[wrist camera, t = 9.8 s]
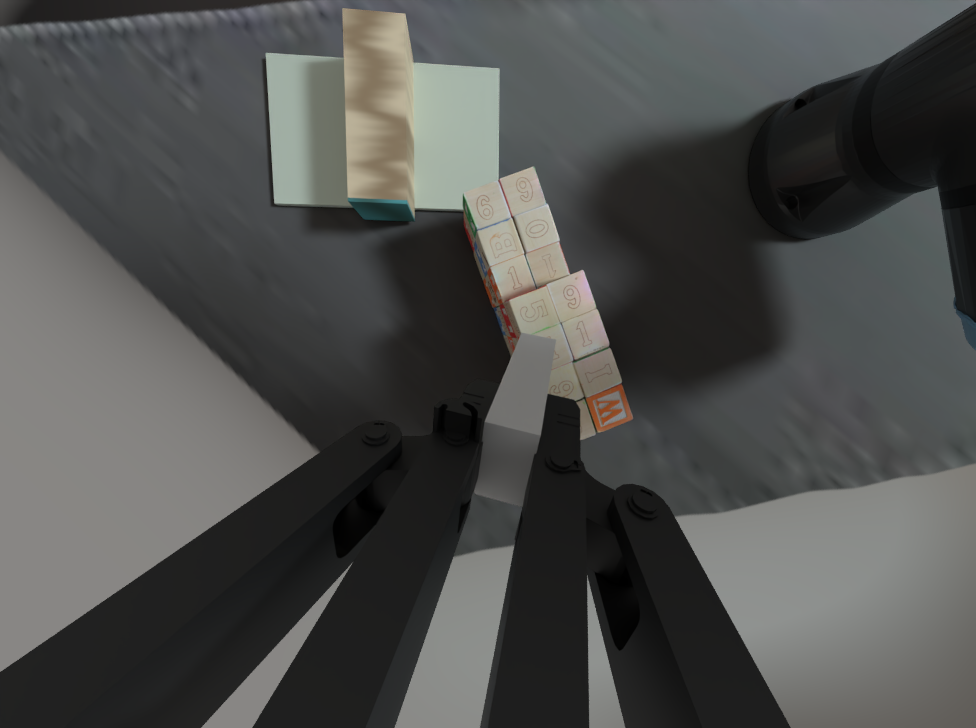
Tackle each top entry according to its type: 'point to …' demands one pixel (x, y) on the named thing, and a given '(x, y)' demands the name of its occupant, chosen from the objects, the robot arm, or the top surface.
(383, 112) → the maple block
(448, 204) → the sage cutting board
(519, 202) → the stack of blocks
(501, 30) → the top surface
